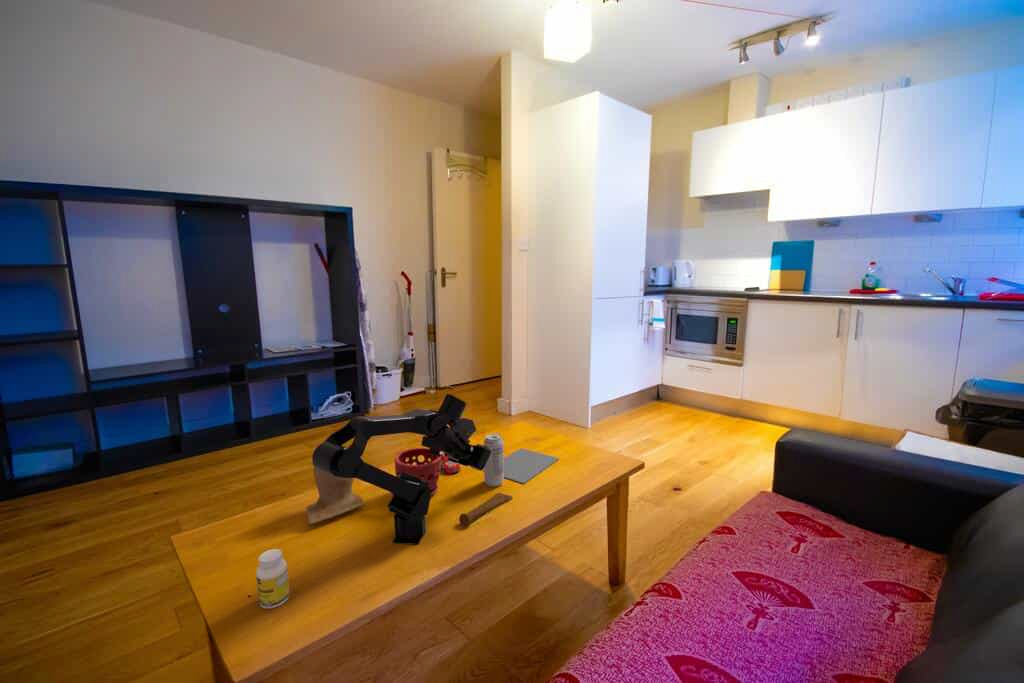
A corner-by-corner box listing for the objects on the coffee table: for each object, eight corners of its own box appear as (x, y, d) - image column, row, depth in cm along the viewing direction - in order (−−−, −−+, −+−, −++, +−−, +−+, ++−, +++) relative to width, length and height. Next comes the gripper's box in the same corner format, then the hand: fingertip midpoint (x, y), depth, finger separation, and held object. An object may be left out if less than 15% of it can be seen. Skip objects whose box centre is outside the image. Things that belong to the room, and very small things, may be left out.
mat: (523, 484, 135) (523, 482, 135) (483, 471, 144) (483, 469, 144) (559, 459, 153) (559, 458, 153) (521, 449, 162) (521, 448, 162)
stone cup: (351, 493, 130) (348, 445, 128) (368, 509, 122) (365, 457, 119) (296, 512, 120) (292, 460, 118) (311, 530, 112) (306, 475, 109)
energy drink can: (495, 476, 140) (494, 431, 138) (508, 483, 136) (507, 436, 134) (480, 482, 136) (479, 436, 134) (493, 489, 132) (492, 441, 130)
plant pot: (401, 509, 121) (399, 468, 119) (393, 488, 133) (391, 451, 131) (447, 499, 127) (445, 459, 125) (435, 480, 138) (434, 443, 137)
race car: (462, 473, 143) (462, 462, 143) (446, 477, 141) (445, 465, 140) (451, 458, 155) (450, 447, 155) (436, 461, 153) (435, 450, 152)
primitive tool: (498, 494, 130) (498, 482, 130) (514, 499, 127) (514, 487, 127) (457, 526, 114) (456, 513, 113) (474, 532, 111) (474, 519, 111)
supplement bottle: (252, 605, 87) (247, 560, 85) (276, 587, 92) (271, 544, 90) (273, 613, 85) (268, 566, 83) (296, 593, 90) (292, 549, 88)
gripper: (486, 418, 115) (511, 445, 125) (434, 406, 125) (462, 432, 136) (466, 458, 110) (495, 482, 120) (415, 442, 120) (445, 465, 131)
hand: (473, 463), depth 127 cm, fingers closed
